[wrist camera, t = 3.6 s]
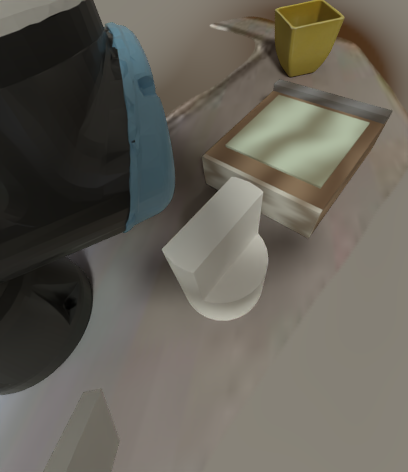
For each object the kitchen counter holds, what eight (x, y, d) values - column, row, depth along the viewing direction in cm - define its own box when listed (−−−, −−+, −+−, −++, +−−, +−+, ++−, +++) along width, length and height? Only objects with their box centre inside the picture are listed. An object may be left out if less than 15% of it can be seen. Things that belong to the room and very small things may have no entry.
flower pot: (329, 75, 48) (346, 16, 40) (284, 85, 48) (292, 27, 40) (309, 55, 53) (322, -2, 45) (268, 64, 53) (274, 8, 45)
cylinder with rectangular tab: (231, 339, 26) (227, 303, 15) (167, 287, 29) (130, 231, 19) (278, 272, 29) (300, 207, 19) (215, 233, 32) (205, 160, 22)
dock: (205, 183, 37) (200, 150, 32) (274, 115, 44) (279, 79, 38) (308, 238, 31) (322, 207, 25) (371, 149, 37) (392, 110, 32)
